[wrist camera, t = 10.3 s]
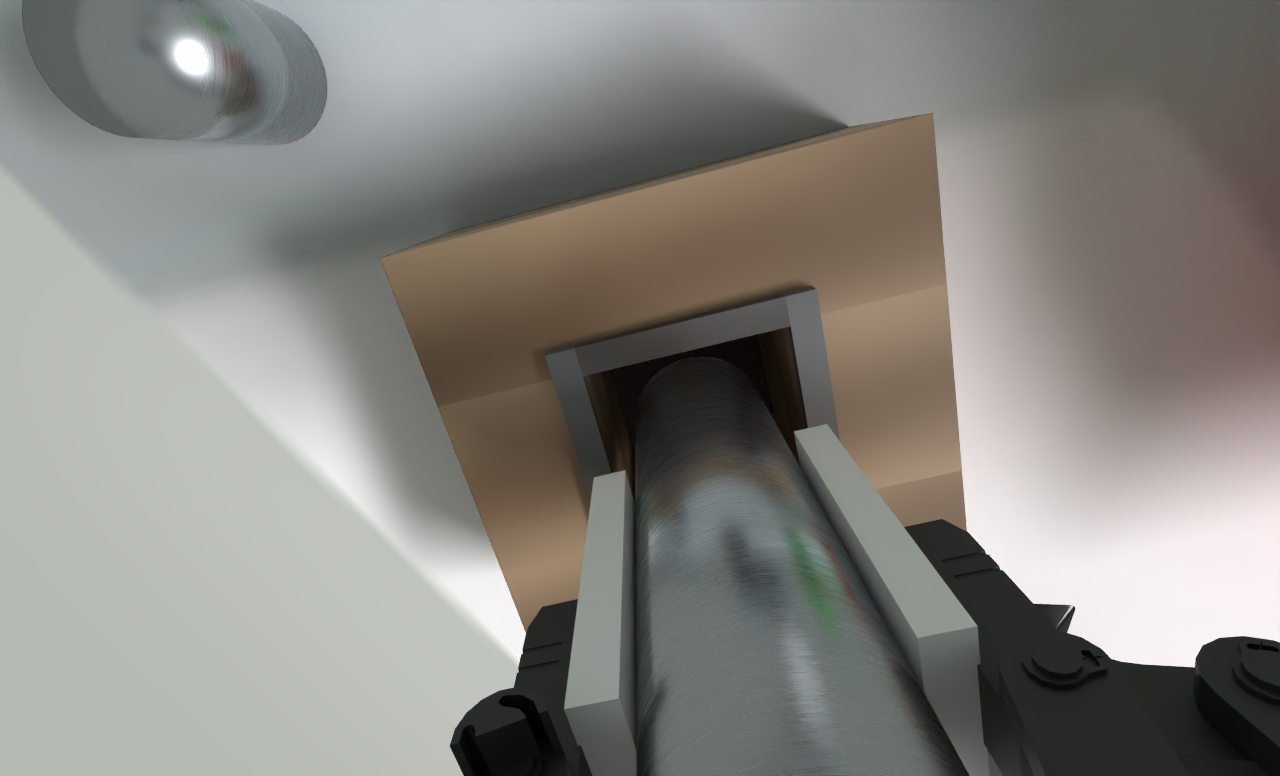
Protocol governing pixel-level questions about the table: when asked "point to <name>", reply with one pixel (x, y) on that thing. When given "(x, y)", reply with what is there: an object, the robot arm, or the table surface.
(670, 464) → the long pin
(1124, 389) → the table surface
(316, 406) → the table surface
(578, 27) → the table surface
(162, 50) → the short pin
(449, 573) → the table surface
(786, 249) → the hole block
